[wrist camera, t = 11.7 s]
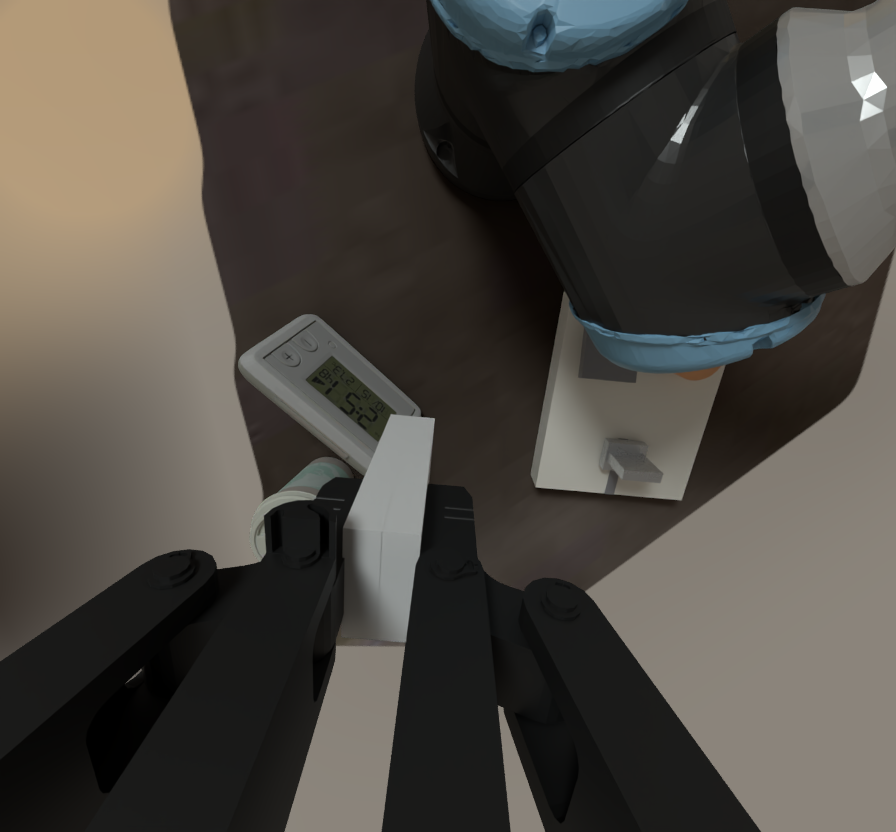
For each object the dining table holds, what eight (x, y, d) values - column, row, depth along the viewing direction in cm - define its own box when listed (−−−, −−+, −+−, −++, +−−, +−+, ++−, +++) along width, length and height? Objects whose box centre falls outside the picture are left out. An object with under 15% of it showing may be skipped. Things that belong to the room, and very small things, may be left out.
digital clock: (430, 418, 45) (424, 461, 35) (365, 460, 47) (342, 512, 37) (335, 291, 41) (298, 298, 31) (268, 342, 43) (212, 365, 33)
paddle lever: (604, 437, 42) (624, 459, 37) (643, 441, 42) (668, 463, 37) (598, 464, 43) (617, 489, 38) (636, 467, 43) (659, 493, 38)
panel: (567, 271, 40) (577, 271, 37) (729, 288, 40) (753, 289, 37) (530, 474, 47) (536, 489, 44) (667, 486, 48) (683, 502, 44)
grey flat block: (586, 308, 38) (590, 306, 37) (639, 313, 38) (645, 311, 37) (578, 377, 39) (581, 377, 37) (630, 382, 39) (636, 382, 38)
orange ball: (655, 319, 41) (681, 325, 37) (702, 324, 42) (734, 330, 37) (643, 366, 43) (666, 378, 38) (688, 370, 43) (717, 382, 38)
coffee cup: (369, 451, 47) (343, 510, 35) (362, 516, 49) (336, 589, 38) (293, 440, 46) (242, 495, 35) (290, 505, 49) (242, 576, 38)
